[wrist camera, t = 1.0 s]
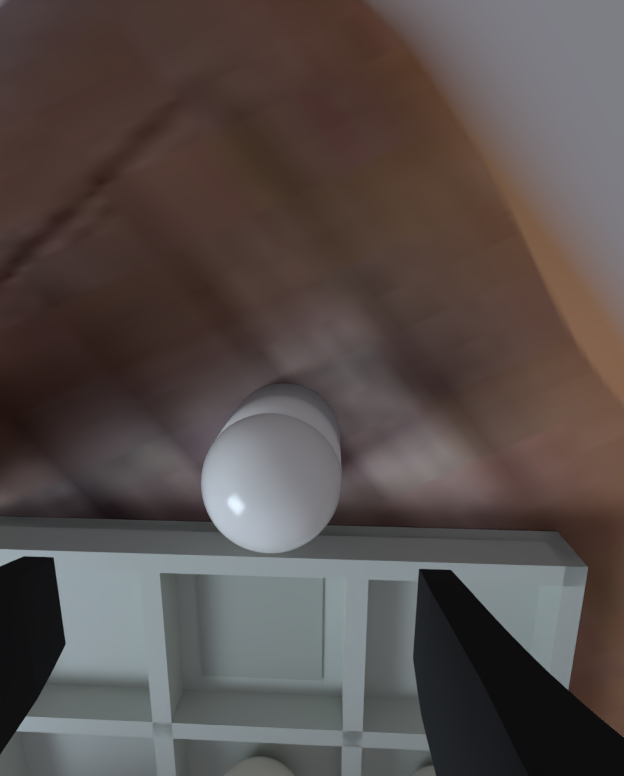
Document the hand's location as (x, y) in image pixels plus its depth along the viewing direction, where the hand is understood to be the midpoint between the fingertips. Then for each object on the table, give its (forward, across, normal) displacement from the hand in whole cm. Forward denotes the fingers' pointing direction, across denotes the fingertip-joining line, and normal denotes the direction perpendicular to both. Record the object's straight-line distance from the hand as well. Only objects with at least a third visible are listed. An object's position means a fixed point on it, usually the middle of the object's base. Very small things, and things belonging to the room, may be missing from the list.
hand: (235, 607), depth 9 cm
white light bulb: (+10, 0, 0) cm, 10 cm away
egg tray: (+10, +1, +12) cm, 16 cm away
